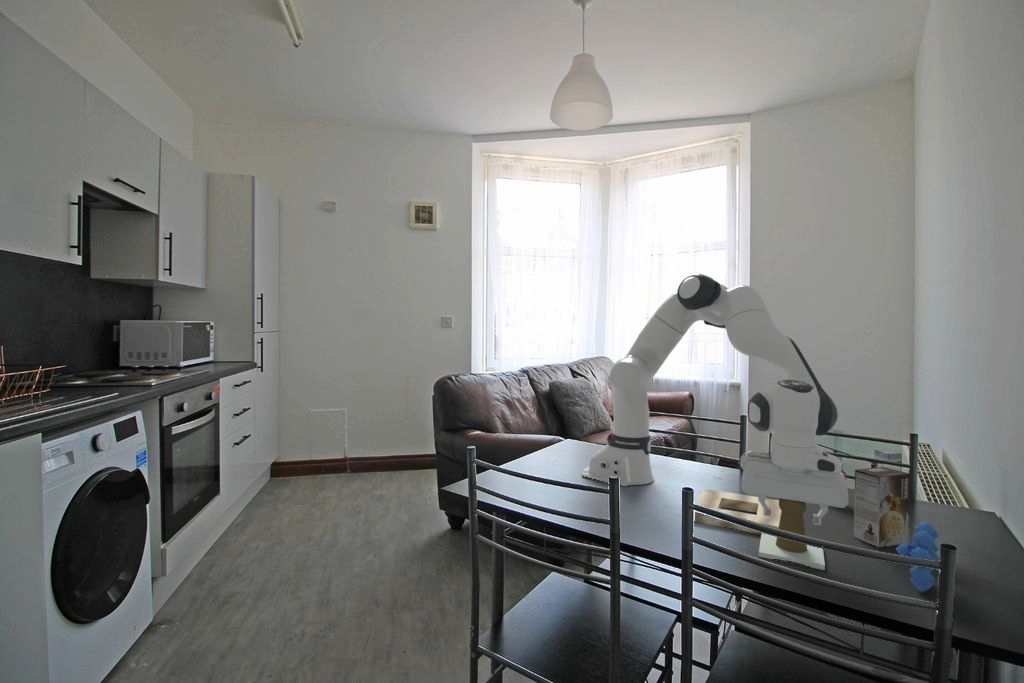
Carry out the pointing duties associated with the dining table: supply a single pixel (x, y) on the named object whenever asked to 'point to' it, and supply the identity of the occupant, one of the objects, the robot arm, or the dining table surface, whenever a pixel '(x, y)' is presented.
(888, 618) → the dining table surface
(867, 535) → the cookie box
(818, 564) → the pad
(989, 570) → the dining table surface
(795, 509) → the cork
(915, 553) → the grapes
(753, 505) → the socket plate
